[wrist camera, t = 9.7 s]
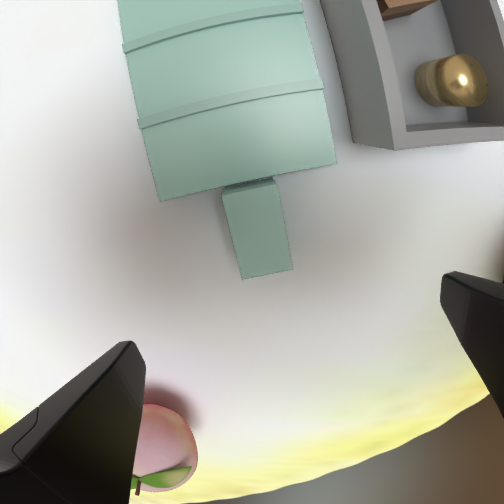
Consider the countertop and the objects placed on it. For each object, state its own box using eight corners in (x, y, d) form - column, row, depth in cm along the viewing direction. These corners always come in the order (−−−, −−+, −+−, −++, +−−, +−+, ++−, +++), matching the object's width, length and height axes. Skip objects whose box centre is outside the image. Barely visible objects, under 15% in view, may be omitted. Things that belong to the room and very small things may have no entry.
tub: (470, 131, 18) (525, 139, 13) (353, 142, 19) (394, 150, 13) (427, -36, 13) (468, -63, 7) (304, -46, 13) (323, -92, 8)
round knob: (454, 106, 17) (491, 107, 13) (418, 107, 17) (453, 106, 13) (446, 62, 16) (481, 56, 12) (409, 61, 16) (442, 51, 12)
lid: (341, 239, 21) (355, 255, 18) (188, 271, 22) (180, 291, 19) (279, -38, 14) (284, -59, 11) (124, -1, 15) (108, -17, 12)
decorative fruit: (150, 439, 29) (134, 515, 20) (99, 394, 27) (67, 474, 17) (222, 421, 28) (218, 510, 19) (171, 369, 25) (148, 468, 16)
